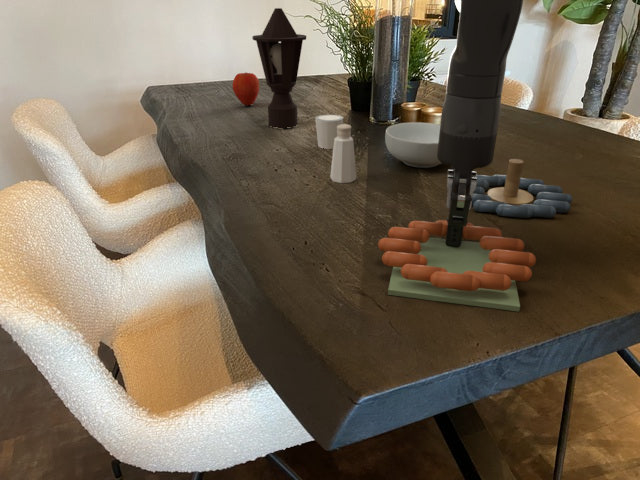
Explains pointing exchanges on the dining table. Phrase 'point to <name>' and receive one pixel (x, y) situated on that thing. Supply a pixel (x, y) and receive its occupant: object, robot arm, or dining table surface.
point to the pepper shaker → (343, 156)
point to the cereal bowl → (414, 143)
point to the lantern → (280, 67)
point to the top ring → (494, 276)
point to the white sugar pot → (327, 129)
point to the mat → (454, 262)
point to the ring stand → (512, 187)
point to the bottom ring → (544, 206)
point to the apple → (246, 87)
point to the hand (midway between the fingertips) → (453, 240)
